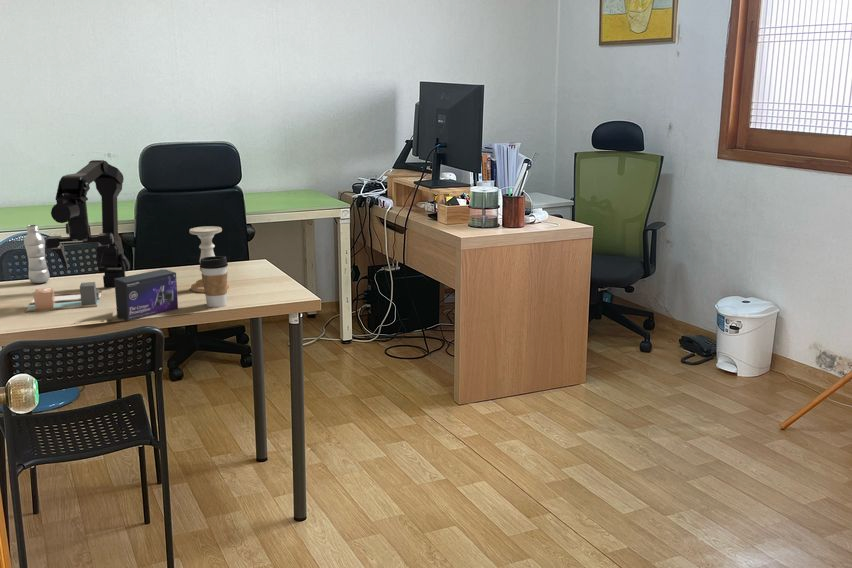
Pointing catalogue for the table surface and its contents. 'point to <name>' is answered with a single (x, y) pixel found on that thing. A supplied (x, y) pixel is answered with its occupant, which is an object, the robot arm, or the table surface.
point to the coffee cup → (215, 280)
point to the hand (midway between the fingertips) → (83, 268)
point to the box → (146, 294)
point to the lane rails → (64, 301)
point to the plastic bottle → (36, 255)
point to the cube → (44, 298)
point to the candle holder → (205, 249)
